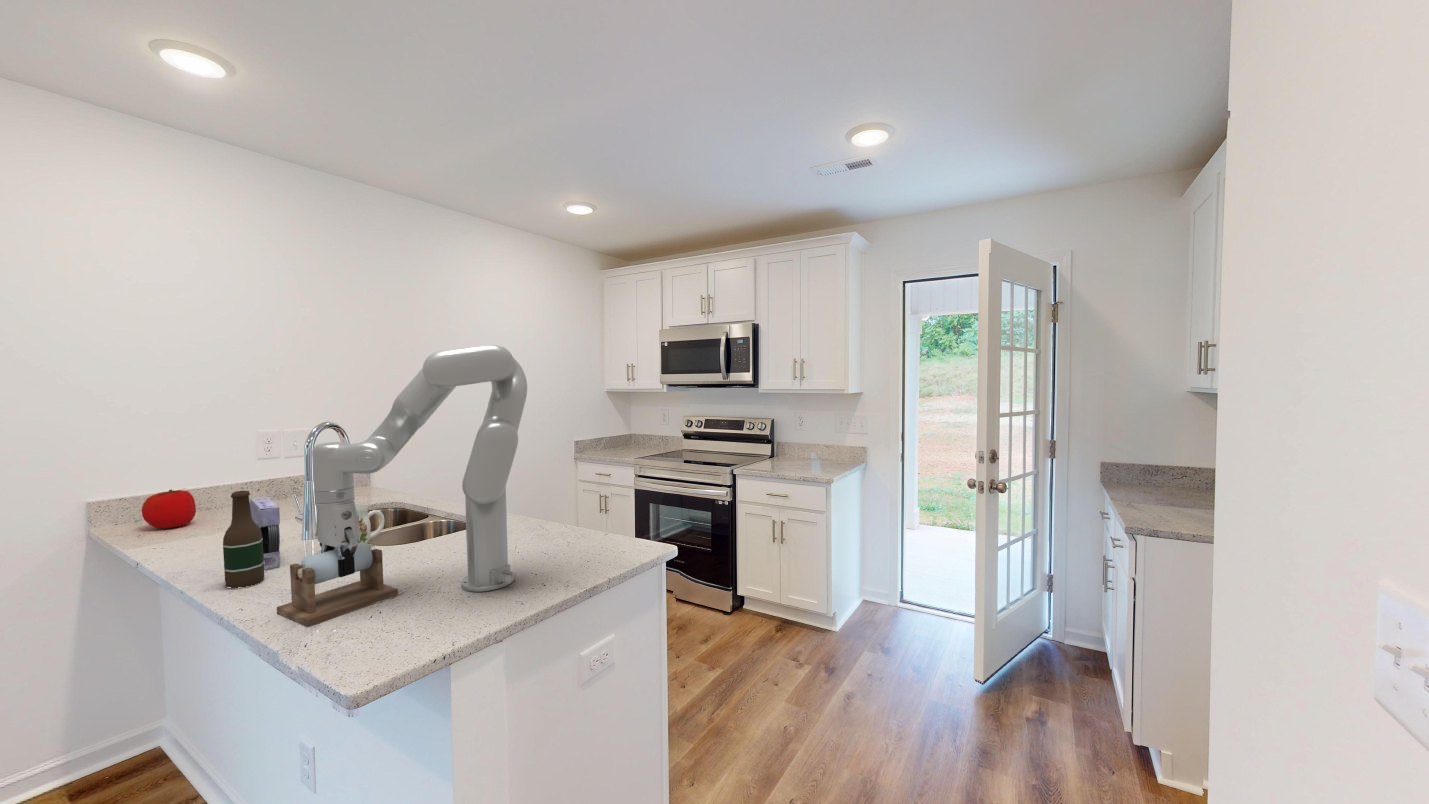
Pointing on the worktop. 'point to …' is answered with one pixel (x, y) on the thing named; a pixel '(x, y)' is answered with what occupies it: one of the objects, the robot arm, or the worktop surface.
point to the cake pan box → (268, 529)
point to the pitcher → (367, 523)
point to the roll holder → (334, 594)
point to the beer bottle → (243, 545)
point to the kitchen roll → (335, 563)
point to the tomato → (169, 509)
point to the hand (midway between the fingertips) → (338, 571)
